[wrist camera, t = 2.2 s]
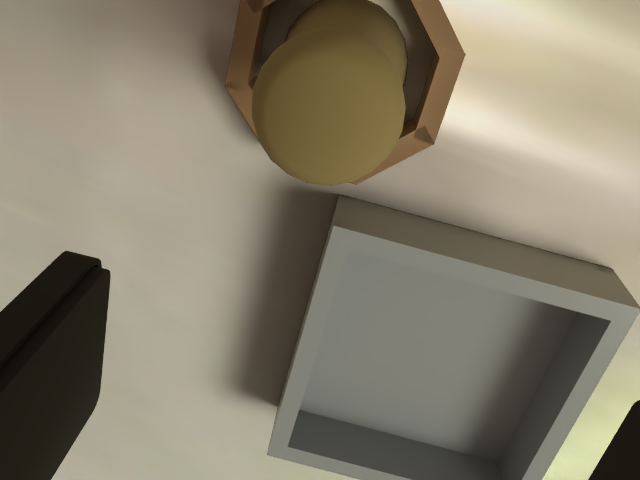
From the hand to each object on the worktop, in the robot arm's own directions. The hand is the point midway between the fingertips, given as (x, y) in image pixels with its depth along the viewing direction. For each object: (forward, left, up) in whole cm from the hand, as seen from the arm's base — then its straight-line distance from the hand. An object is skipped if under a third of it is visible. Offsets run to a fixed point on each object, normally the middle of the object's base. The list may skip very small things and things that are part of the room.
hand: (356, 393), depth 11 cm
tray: (+12, +7, -21) cm, 25 cm away
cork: (-2, -2, -21) cm, 22 cm away
